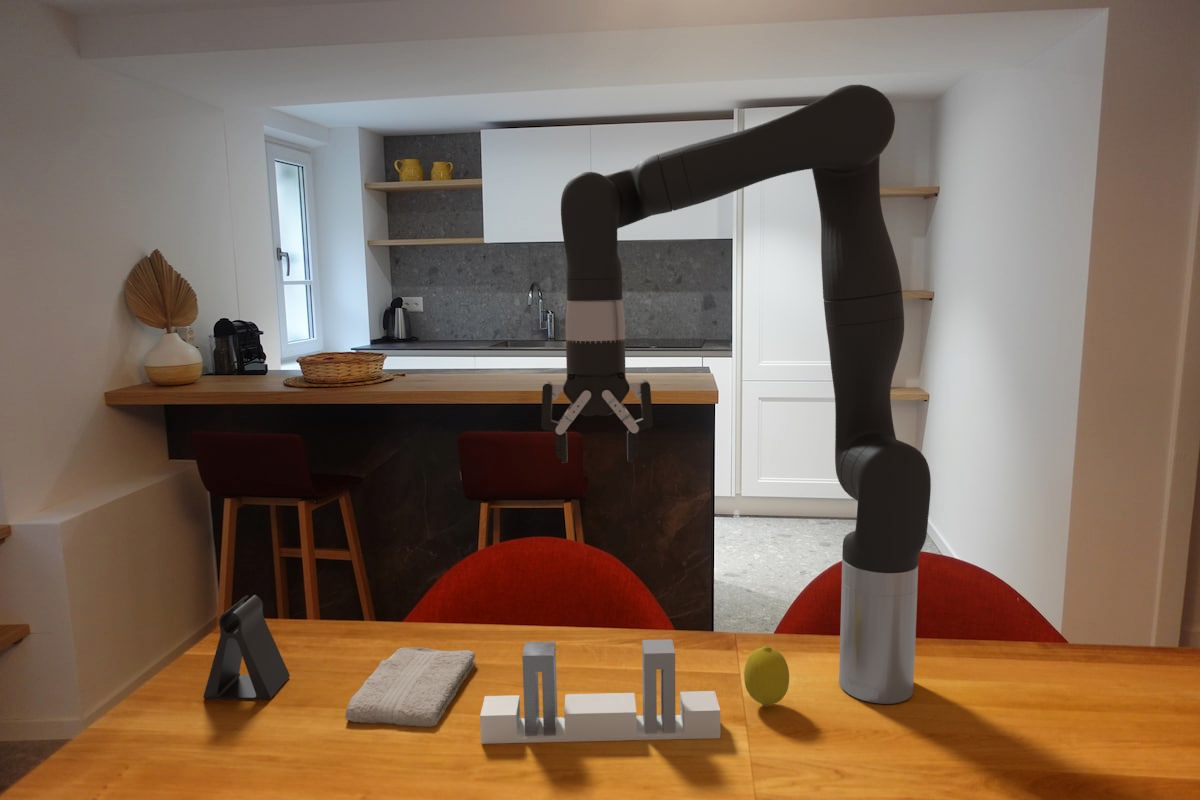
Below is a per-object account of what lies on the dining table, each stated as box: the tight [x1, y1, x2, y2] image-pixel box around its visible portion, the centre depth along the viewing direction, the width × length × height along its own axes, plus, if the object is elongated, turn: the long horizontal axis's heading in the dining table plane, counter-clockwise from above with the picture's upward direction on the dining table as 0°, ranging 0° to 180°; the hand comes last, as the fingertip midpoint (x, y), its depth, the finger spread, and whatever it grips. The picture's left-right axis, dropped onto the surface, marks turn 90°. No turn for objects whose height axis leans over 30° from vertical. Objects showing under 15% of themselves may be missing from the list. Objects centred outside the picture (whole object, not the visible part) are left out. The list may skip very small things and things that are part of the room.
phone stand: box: [202, 594, 291, 701], centre depth 108 cm, size 9×6×12 cm, turn 87°
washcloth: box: [345, 646, 476, 728], centre depth 107 cm, size 12×18×3 cm, turn 172°
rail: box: [479, 638, 721, 745], centre depth 96 cm, size 28×4×10 cm, turn 91°
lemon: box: [743, 645, 790, 708], centre depth 101 cm, size 6×6×8 cm
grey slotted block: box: [521, 641, 558, 736], centre depth 96 cm, size 4×4×10 cm
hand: (597, 461), depth 105 cm, fingers open, 8 cm apart
